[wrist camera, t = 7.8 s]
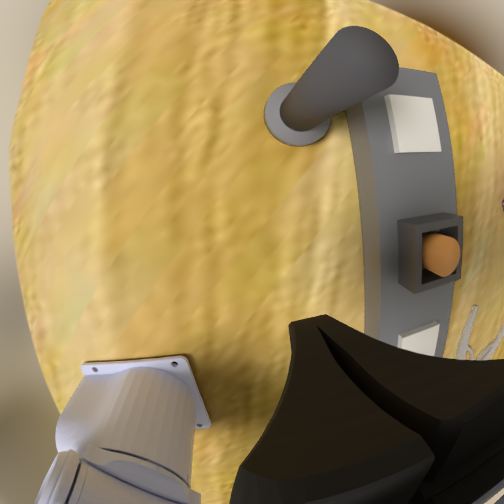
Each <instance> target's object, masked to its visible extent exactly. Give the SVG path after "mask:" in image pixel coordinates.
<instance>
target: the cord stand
mask: <svg viewBox="0 0 504 504" xmlns="http://www.w3.org/2000/svg"><path fill="white" fill-rule="evenodd" d="M398 74H399V64H398V60H397V57H396V55H395V53H394V51H393V49H392V48H391V46H390V45H389V44H388V43H387V41H386V40H385V39H383V38H382V37H381V36H380V35H378V34H377V33H375V32H374V31H372V30H370V29H367V28H364V27H359V26H349V27H345V28H342V29H341V30H339V31H338V32H337V33H336V34H335V35H334V37H333V38H332V39H331V40H330V41H329V43H328V44H327V45H326V46H325V48H324V49H323V50H322V51H321V52H320V54H319V55H318V56H317V57H316V59H315V60H314V61H313V62H312V64H311V65H310V66H309V68H308V69H307V70H306V71H305V73H304V74H303V75H302V77H301V78H300V79H299V80H298V82H297V83H288V84H285V85H282V86H280V87H279V88H277V89H276V90H275V91H274V92H273V93H272V94H271V95H270V97H269V99H268V101H267V103H266V105H265V108H264V120H265V124H266V126H267V128H268V130H269V132H270V133H271V134H272V135H273V136H274V137H275V138H276V139H277V140H278V141H280V142H282V143H284V144H286V145H290V146H305V145H308V144H311V143H313V142H316V141H317V140H319V139H320V138H322V137H323V136H324V135H325V133H326V132H327V130H328V128H329V126H330V122H331V117H333V116H335V115H337V114H339V113H340V112H342V111H344V110H346V109H348V108H350V107H352V106H354V105H355V104H357V103H359V102H361V101H363V100H365V99H367V98H369V97H371V96H373V95H375V94H377V93H379V92H381V91H383V90H385V89H387V88H389V87H391V86H392V85H393V84H394V83H395V82H396V80H397V77H398Z"/></svg>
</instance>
